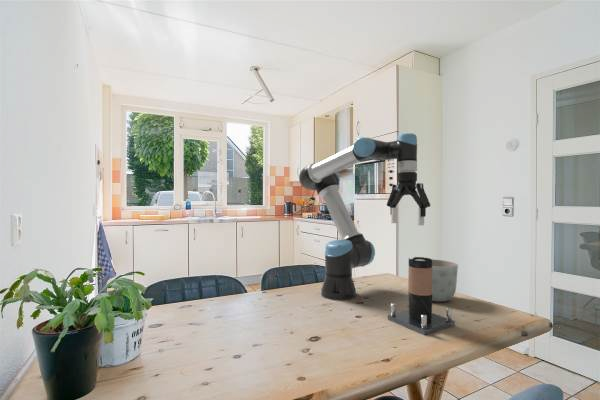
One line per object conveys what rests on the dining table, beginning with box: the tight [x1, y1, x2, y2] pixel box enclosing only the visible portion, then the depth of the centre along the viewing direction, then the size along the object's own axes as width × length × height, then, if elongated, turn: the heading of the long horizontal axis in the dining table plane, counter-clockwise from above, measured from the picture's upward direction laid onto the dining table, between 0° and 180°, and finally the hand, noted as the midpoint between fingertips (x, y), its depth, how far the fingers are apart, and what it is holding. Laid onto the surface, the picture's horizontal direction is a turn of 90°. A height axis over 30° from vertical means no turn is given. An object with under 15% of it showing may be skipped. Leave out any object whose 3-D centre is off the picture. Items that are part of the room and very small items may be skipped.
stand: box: [387, 302, 456, 336], centre depth 108 cm, size 15×15×6 cm
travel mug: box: [407, 256, 433, 322], centre depth 108 cm, size 8×8×20 cm
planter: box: [431, 258, 459, 303], centre depth 135 cm, size 17×17×15 cm
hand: (407, 224), depth 130 cm, fingers open, 13 cm apart
